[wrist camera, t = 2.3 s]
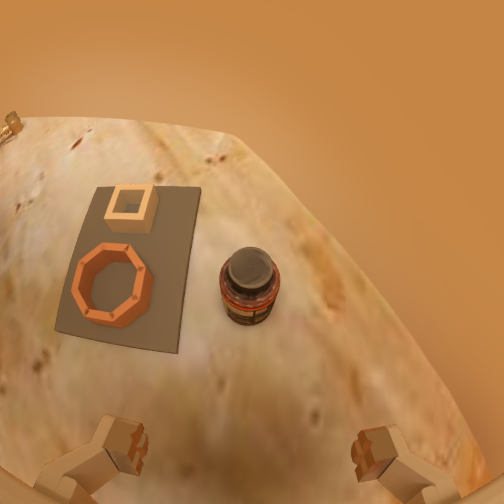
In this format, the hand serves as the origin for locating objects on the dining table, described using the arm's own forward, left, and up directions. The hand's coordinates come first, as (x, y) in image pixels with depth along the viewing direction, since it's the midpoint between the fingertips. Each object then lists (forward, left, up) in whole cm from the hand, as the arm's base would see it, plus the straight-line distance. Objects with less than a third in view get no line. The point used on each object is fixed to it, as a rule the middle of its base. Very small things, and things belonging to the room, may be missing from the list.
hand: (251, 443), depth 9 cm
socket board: (-17, +17, -23) cm, 34 cm away
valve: (-70, +51, -23) cm, 90 cm away
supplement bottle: (0, +12, -23) cm, 26 cm away
